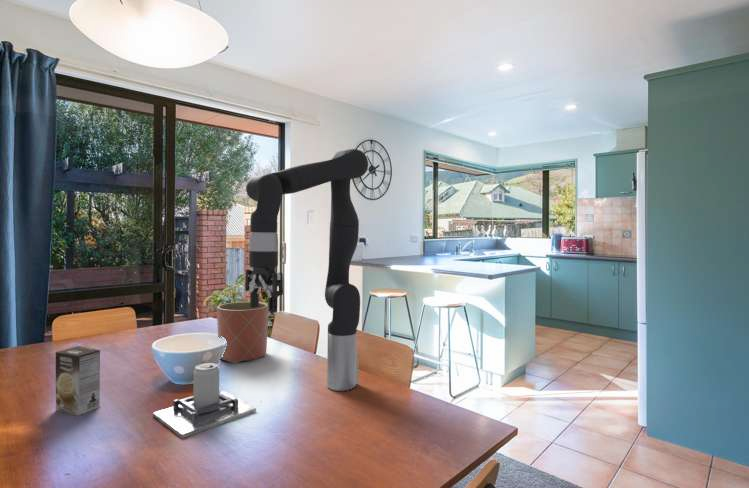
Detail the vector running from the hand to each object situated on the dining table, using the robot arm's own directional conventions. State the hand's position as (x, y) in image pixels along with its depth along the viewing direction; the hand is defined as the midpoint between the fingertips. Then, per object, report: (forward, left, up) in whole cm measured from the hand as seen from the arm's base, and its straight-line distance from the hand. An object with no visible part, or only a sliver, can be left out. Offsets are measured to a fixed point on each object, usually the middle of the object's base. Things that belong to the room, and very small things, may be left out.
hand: (263, 309), depth 111 cm
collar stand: (+11, -10, -28) cm, 32 cm away
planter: (-23, -48, -28) cm, 60 cm away
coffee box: (+33, -38, -28) cm, 58 cm away
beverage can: (+11, -10, -27) cm, 31 cm away
